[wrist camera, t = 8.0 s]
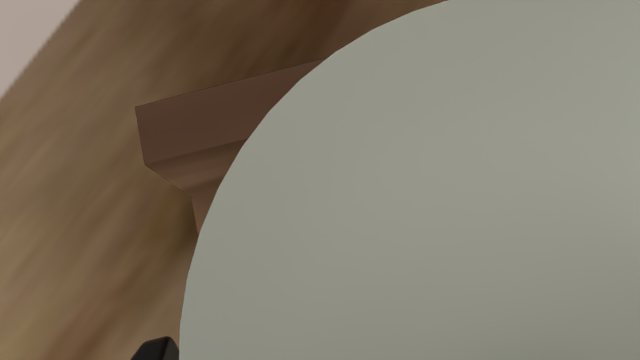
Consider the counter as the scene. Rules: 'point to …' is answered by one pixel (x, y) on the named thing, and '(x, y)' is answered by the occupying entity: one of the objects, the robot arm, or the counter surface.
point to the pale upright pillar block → (437, 197)
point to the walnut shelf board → (209, 130)
